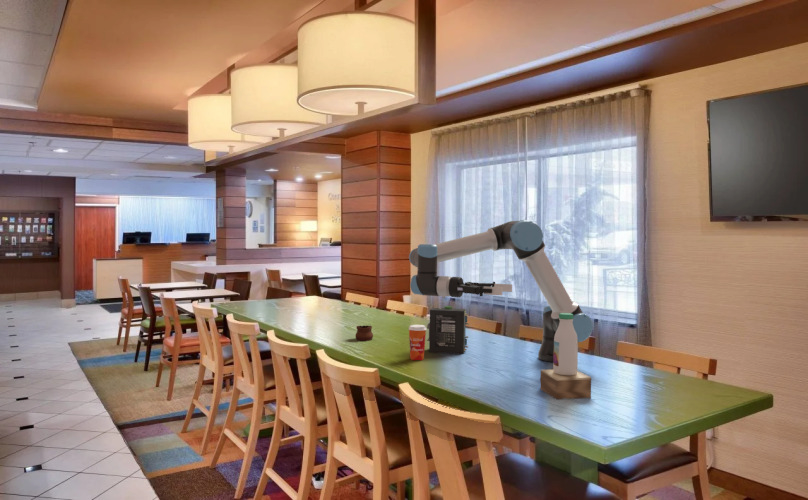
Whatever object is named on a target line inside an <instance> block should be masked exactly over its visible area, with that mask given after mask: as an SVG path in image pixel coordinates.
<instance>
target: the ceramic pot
mask: <svg viewBox="0 0 808 500" xmlns="http://www.w3.org/2000/svg"><path fill="white" fill-rule="evenodd" d="M355 328H356V333H355V340H356V341H359V342H370V341H372V340H373V338H374V333H373V332H372V328H373V326H372V325H356V327H355ZM349 342H351V343H352V341H349Z"/></svg>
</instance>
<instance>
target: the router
mask: <svg viewBox="0 0 808 500" xmlns="http://www.w3.org/2000/svg"><path fill="white" fill-rule="evenodd" d="M469 315H470V313H469V312H467V309H466V308H453V307H452V305H451V306H450V305H447V306H444V307H432V308H430V309H429V322H428V324H427V325H426V329H428V339H427V340H426V342H429V345H428V347H429V348H428V352H429V353H441V354H442V353H443V354H458V355H460V354H462V355H463V354H465V351H467V349H468V348H469V345H468V339H469V336H467V335H466V329H467V328H466V327H467V326H469V322H468V316H469ZM466 325H467V326H466Z"/></svg>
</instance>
